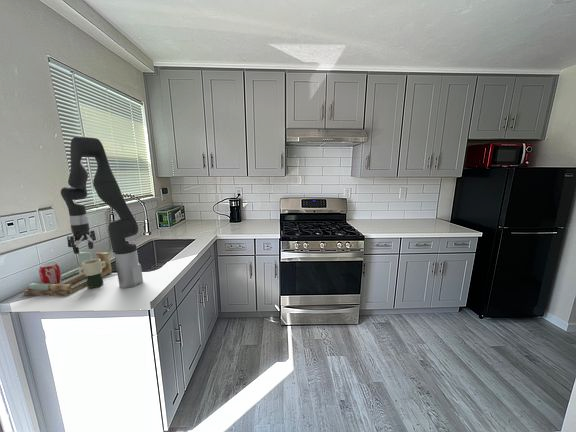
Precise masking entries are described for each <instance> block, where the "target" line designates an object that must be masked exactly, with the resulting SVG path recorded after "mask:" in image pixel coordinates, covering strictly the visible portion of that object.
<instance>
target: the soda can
mask: <svg viewBox="0 0 576 432" xmlns="http://www.w3.org/2000/svg"><path fill="white" fill-rule="evenodd" d="M60 268H61V267H60V266H59V264H57V262H47V263H43V264H41V265H39V269H38V273H39V278H40V284H59V283H62V282H63V279H62V278H61V275H62V273H61V269H60Z"/></svg>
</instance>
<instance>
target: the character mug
mask: <svg viewBox="0 0 576 432" xmlns="http://www.w3.org/2000/svg"><path fill="white" fill-rule="evenodd" d="M102 263H103V266H102ZM82 266H83V267H82V268H81V267H78V268H79V272H78V273H79V274H80V275H82V274H85V275H86V276H88V277H86V279H87V285H86V287H88V288H97V287H100V286H101V285H103V284H104V280H103V277H102V276H101V274H100V273H102V268H104V267H106V265H105V261H103V262H101V259H96V258H93V259H91V260H87V261H84V262H83V263H82ZM82 269H83V271H81V270H82ZM79 274H78V275H79Z"/></svg>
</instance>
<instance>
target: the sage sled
mask: <svg viewBox="0 0 576 432" xmlns="http://www.w3.org/2000/svg"><path fill="white" fill-rule="evenodd" d="M77 257H78V260H79V266H80V267H78V268H75V269H74V270H70V272H69V271H67V272H68V273H67V272H65V273H66V274H65V273H63V275H62V274H61V278H62V280H64V279H66V278H68V277H71V276H72V277H71V278H69V279H66V280H64V281H62V283H65V282H67V281H69V280H71V279H73V278H76V277H78V276H80V274H78V273H79V268H82V267H83V266H82V263H83V262H84V261H87V260H91V259H94V257H93V252H89V251H79V254H77ZM81 271H82V272H84V271H83V269H82V270H81ZM75 274H77V275H75ZM73 275H75V276H74V277H73ZM62 283H59V284H62ZM28 285H29V288H30V290H44V291H51V290H50V286H49V285H51V284H41V283H38V282H37V283H30V284H28Z"/></svg>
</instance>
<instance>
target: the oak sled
mask: <svg viewBox="0 0 576 432" xmlns="http://www.w3.org/2000/svg"><path fill="white" fill-rule="evenodd" d="M95 259H101V262H103V261H105V265H106V267H104V268H102V272H101V273H100V274H101V276H102V278H103V277H105V276H107V275H109V274H111V273H113V269H112V264H111V257H110V252H102V251H101V252H100V251H99V252H98V251H97V252H95ZM102 266H103V263H102ZM108 273H109V274H108ZM87 277H88V276H86V275H85V274H82V275H80V276H78V277H76V278H73V277H72V278H73V279H71V280H69V281H67V282H65V283H62V284H51V285H49V286H50V290H51V291H68V294H69V295H70V294H72V293H74V292H76V291H77V290H81V289H82V288H84V287H85V286H86V287H87V280H85V281H83V282H80V283H78V282H79V281H81V280H83V279H85V278H87ZM75 283H78V284H76V285H74V286H72V284H75Z"/></svg>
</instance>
